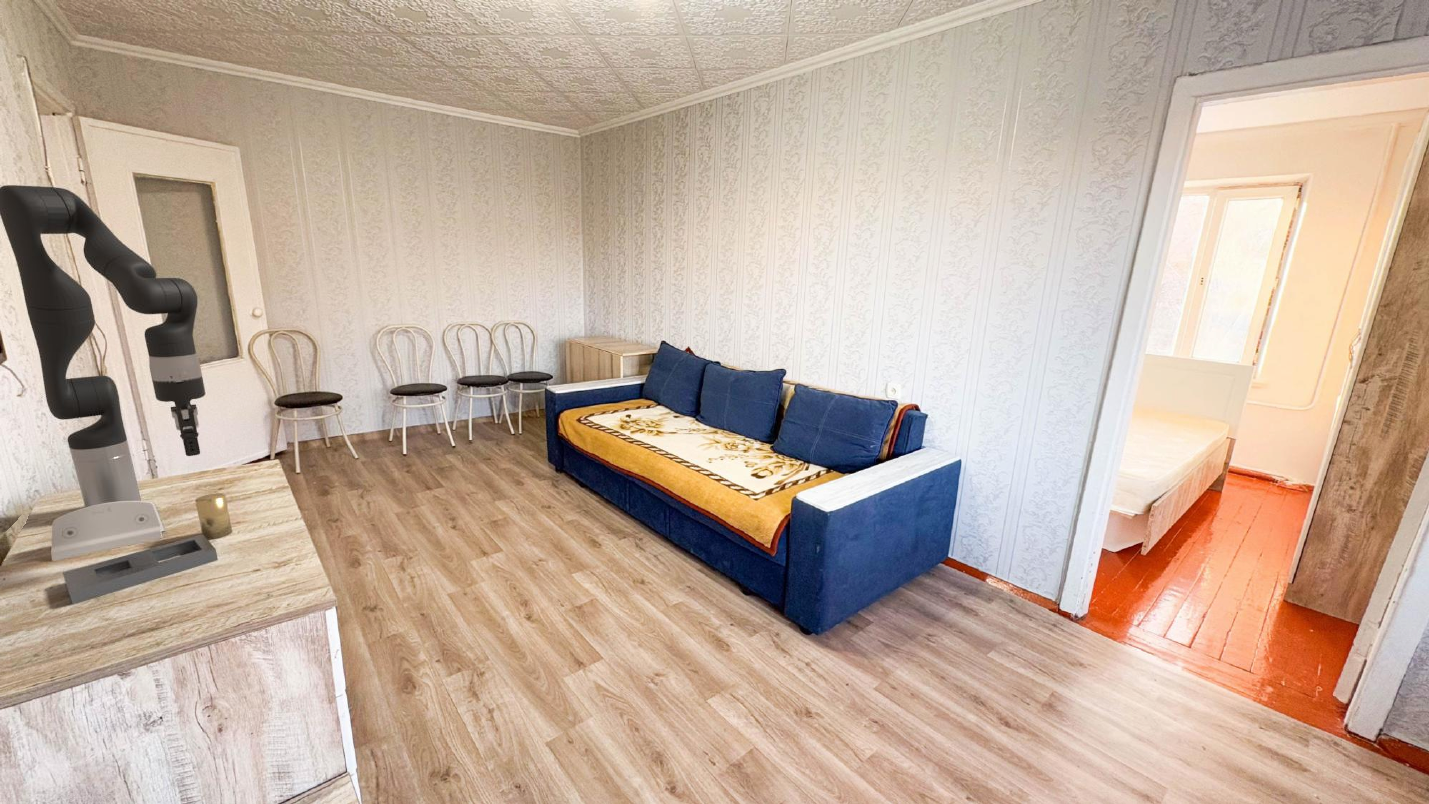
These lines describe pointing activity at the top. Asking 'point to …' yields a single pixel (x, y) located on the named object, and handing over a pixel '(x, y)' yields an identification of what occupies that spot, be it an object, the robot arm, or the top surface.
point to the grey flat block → (137, 568)
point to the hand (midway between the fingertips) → (192, 449)
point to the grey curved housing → (105, 528)
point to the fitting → (213, 516)
